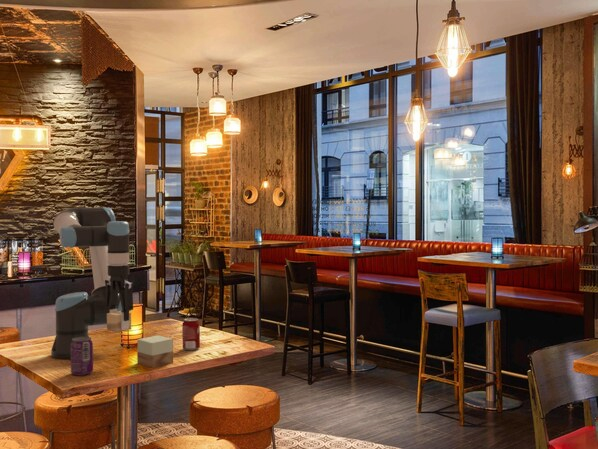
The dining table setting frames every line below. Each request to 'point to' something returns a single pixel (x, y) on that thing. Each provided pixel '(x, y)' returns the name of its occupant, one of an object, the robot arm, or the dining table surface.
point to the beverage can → (81, 356)
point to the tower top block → (155, 345)
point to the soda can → (191, 334)
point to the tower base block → (155, 359)
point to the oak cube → (116, 321)
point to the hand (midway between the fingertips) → (119, 328)
